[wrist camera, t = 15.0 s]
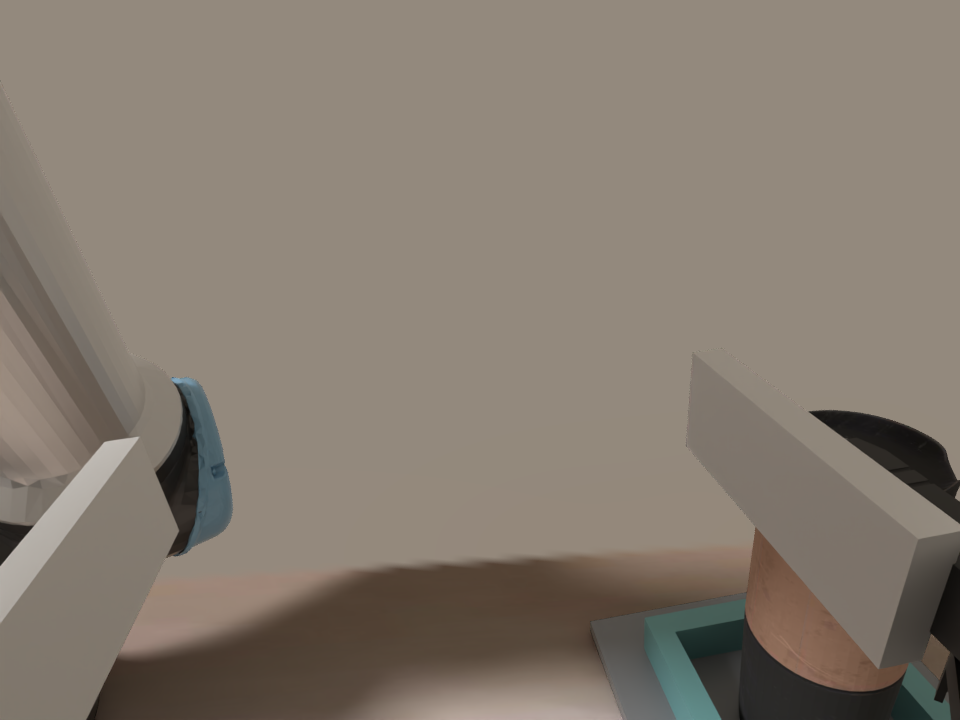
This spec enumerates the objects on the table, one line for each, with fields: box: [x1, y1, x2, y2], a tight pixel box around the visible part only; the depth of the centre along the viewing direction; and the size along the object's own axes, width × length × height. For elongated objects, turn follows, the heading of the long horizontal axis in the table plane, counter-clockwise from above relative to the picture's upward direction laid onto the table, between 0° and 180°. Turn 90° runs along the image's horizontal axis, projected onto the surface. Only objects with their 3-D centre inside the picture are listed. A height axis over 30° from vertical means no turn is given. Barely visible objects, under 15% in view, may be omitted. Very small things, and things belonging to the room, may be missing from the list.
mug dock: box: [590, 592, 951, 720], centre depth 34 cm, size 20×20×4 cm
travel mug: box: [739, 410, 960, 720], centre depth 30 cm, size 8×8×20 cm
